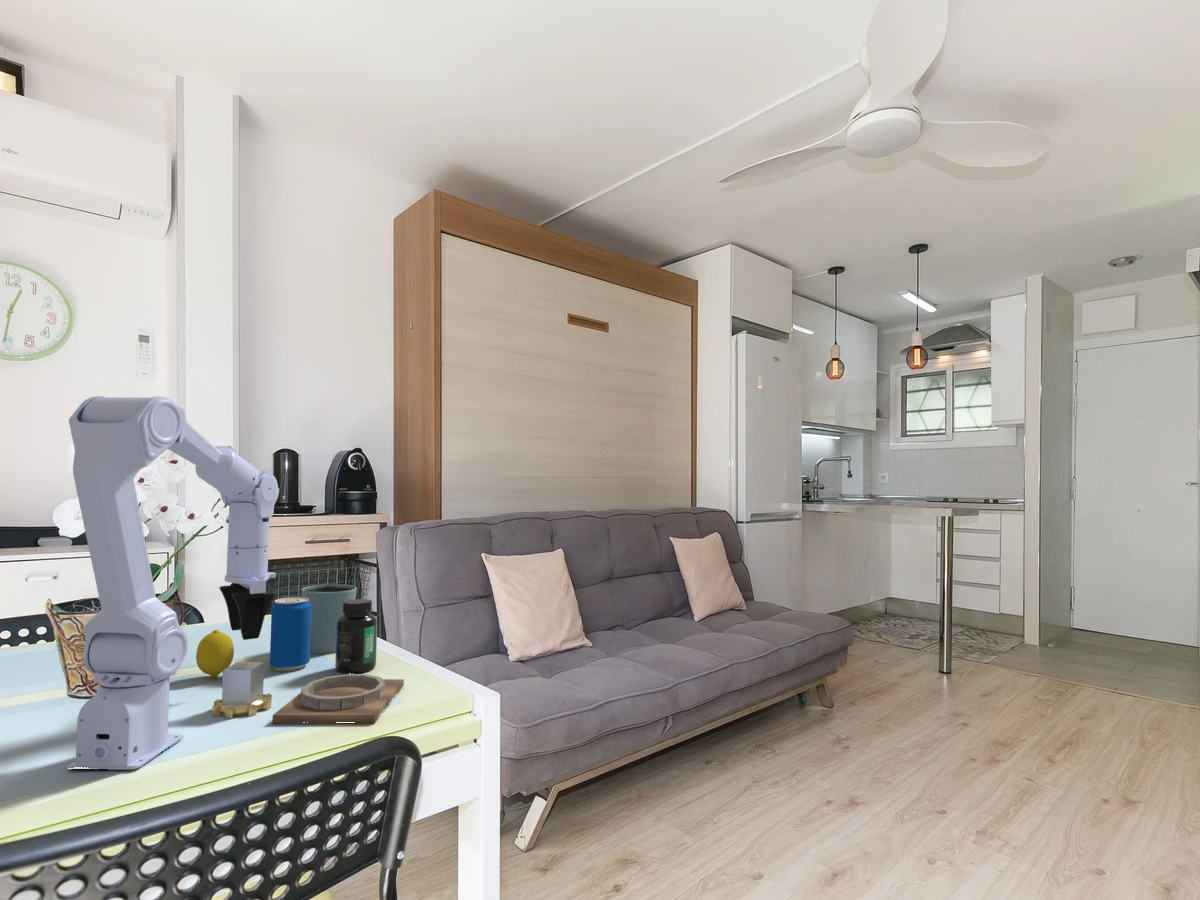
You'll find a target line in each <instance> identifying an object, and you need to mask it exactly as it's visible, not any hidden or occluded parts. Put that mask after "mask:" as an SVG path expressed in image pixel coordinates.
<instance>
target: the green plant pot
mask: <svg viewBox="0 0 1200 900" xmlns="http://www.w3.org/2000/svg"><path fill="white" fill-rule="evenodd" d="M356 596H357V586H355V585H351V584H342V583H340V584H338V583H333V584H332V583H329V584H328V583H327V584H325V583H324V584H317V585H310V586H304V587H303V588H302V589H301V597H306V598H309V600H308V601H309V603H310V604H311V630H310V655H327V654H336V626H337V621H338V620H339V619H340V618H341V617H342V616H344V613H343V612H342V610H343V602H344V601H347V600H353V599H356Z"/></svg>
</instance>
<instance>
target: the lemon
mask: <svg viewBox="0 0 1200 900" xmlns="http://www.w3.org/2000/svg"><path fill="white" fill-rule="evenodd" d="M234 648H235V647H234V643H233V640H232V638H231V637H230V636H229V634H227V633H225V632H223V631H220V630H219V629H214V630H212V632H210V633H207V635H205V636H203V638H202V639H201V640H200V641H199V643H198V645H197V649H196V652H195V660H196V664H197V667H198V669H199V670H200V671H201V672H202V673H203V674H206V675H209V676H210V677H211V678H217V677H219V675H220V674H221V673H223V670H224V669H226V668H228V667H229V666H231V664H232V662H233V659H234V655H235V654H234V653H235V649H234Z"/></svg>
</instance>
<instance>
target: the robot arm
mask: <svg viewBox="0 0 1200 900" xmlns="http://www.w3.org/2000/svg"><path fill="white" fill-rule="evenodd" d="M68 424H69V429H70V434H71V438H72V443H73V449H74V454H73V455H74V456H73V464H72V473H73V475H72V476H73V479H74V480H73V481H74V485H75V489H76V495H77V499H78V503H79V507H80V513H81V519H82V522H83V527H84V531H85V532H84V533H85V537H86V541H87V545H88V551H89V556H90V560H91V565H92V570H93V575H94V580H95V583H96V589H97V593H98V594H97V595H98V598H99V599H98V600H99V603H100V609H101V610H100V611H98V612H97V613H96V614H94V615H93V616H92V617H91V618H90V619H89V620H88V622H86V623H85V624H84V625H83V629H84V630H83V631H84V635H85V641H84V646H83V647H84V648H83V653H82V661H83V665H84V666H85V668H86V670H87V672H90V673H91V674H92V675H93V676H94V678H93V683H97V684H99V686H98V688H97V691H96V693H95V694H94V696H92V697H91V698H90V699H88V700H87V701H85V703H84V704H83V705H82V706H81V708H80V709H79V712H78V715H77V726H76V727H77V728H76V750H75V760H74V761H73V762H71V763H70V764H68V765H67V769H68V768H74V767H83V768H84V767H86V768H87V767H88V768H97V769H108V771H110V770H111V771H112V770H113V771H115V770H118V771H119V770H120V771H121V770H124V771H127V770H137V769H140V767H142V766H144V765H145V764H147V763H148V762H150V761H151V760H153V759H154V758H156V757H157V756H158V754H159V755H160V754H162V753H163V752H165V751H166V750H167V749H169V748H170V747H172V746H173V745H175V744H176V743H178V742H179V741H181V740H182V739H183V738H184V734H182V733H169V710H170V709H169V708H170V707H169V706H170V684H171V683H170V682H171V677H173V676H175V675H176V673H177V671H178V670H179V668H181V666H182V665H183V663H184V661H185V659H186V657H187V653H188V647H189V645H188V644H189V643H188V636H187V635H186V632H185V630H184V629H183V628H182V627H181V625H180V624H179V621H178V616H177V612H176V611H175V610H173V609H172V608H171V607H170V606H168V605H167V604H165V603H164V602H162V601H161V600H159V598H157V596H156V590H155V586H154V580H153V575H152V569H151V564H150V559H149V553H148V549H147V543H146V538H145V531H144V526H143V522H142V516H141V512H140V507H139V501H138V494H137V489H136V485H135V484H136V483H135V477H136V476H137V475H138V474H139V472H140V470H141V469H144V468H147V467H148V466H149V465H151V464H152V463H153V462H154V461H156V459H158V458H159V457H160V456H162V455H163V453H165V451H167V450H168V451H170V452H172V453H174V454H176V455H177V456H179V457H181V458H183V459H184V460H186V461H187V462H189V463H190V464H193V465H194V466H195V473H196V475H197V477H198V478H200V479H201V480H202V481H203V482H205V483H207V484H208V485H210V486H211V487H212V488H214V489H215V490H216V491H217V492H219V494H220V498H221V501H222V503H223V504H224V505H226V506H228V528H227V530H228V531H227V548H226V549H227V550H226V551H227V552H226V574H225V575H224V582H225V583H230V585H221V586H219V591H220V592H221V594H222V597H223V599H224V601H225V604H226V605H225V606H226V608H227V613H228V619H229V624H230V628H231V631H233V632H234V631H240V633H241V638H242V640H243V641H247V640H254V639H259V638H260V635H261V631H262V627H263V624H264V620H265V616H266V614H267V611H268V609H269V606H270V604H271V603H272V601H273V600H274V598H275V596H276V592H274V591H266V589H267V588H266V587H267V586H266V585H267V583H266V582H267V581H268V580H269V579H274V578H275V579H276V572H274V571H273V572H268V569H269V568H268V566H269V543H270V519H271V517H273V515H274V513H275V512H274V511H275V509H274V508H275V504H276V502H277V500H278V498H279V494H280V488H279V485H278V481H277V478H276V477H275V476H274V475H273V474H271V472H269V471H266V470H258V469H257V468H255V466H253V464H252V463H251V462H250V461H246V460H245V459H244V458H242V457H241V456H240V455H239V454H237V453H236V451H237V450H236V448H235V447H233V446H232V445H216V446H215V445H213V444H212V443H211V442H210V440H208V439H207V438H206V437H205V436H204V435H202V433H200V431H198V430H197V429H196V428H195V427H194V426H193V425H191V423H189V422H188V420H187V416H186V411H185V409H184V408H182V407H181V406H179V405H177V404H176V403H175V402H174V401H173V400H172V399H171V398H170V397H167V396H164V395H160V396H159V395H158V396H152V397H147V396H146V397H144V396H143V397H142V396H141V397H138V396H137V397H134V396H133V397H131V396H129V397H128V396H126V397H125V396H124V397H120V396H119V397H117V396H116V397H113V396H112V397H106V396H102V395H101V396H98V395H95V396H94V395H93V396H91V397H88V398H86V399H84V401H83V402H81V403H80V405H79V406H78V407H77V409H75V411H74V412H73V413H72V415H71V416H70V417H69V418H68ZM185 437H186V438H185ZM168 747H169V748H168ZM165 749H166V750H165ZM162 751H163V752H162ZM161 752H162V753H161Z"/></svg>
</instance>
